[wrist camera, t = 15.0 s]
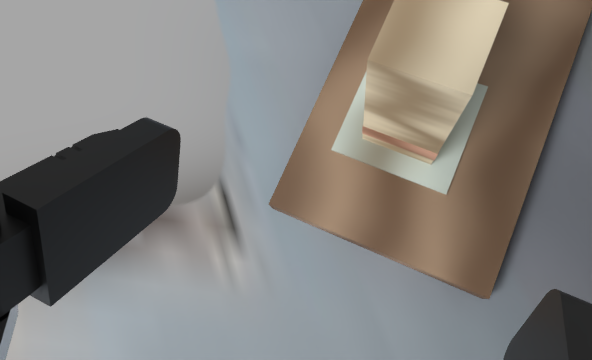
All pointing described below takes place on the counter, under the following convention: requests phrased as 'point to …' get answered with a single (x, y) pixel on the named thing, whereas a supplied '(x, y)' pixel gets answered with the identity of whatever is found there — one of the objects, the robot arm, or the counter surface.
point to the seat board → (451, 158)
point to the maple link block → (426, 71)
